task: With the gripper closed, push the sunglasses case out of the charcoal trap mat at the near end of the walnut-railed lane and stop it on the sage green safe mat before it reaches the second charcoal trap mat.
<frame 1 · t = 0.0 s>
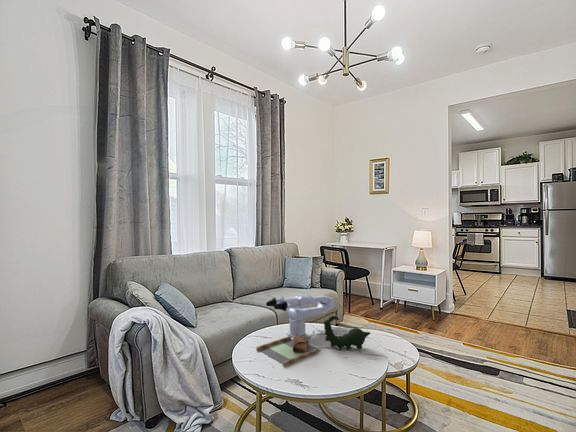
hand: (270, 305, 186), 22 cm above the table, tool horizontal, fingers open, 7 cm apart
lane rails: (290, 350, 176), on the table
zone mats: (290, 350, 176), on the table
sunglasses case: (301, 346, 181), resting on zone mats
toy figurine: (347, 348, 179), on the table
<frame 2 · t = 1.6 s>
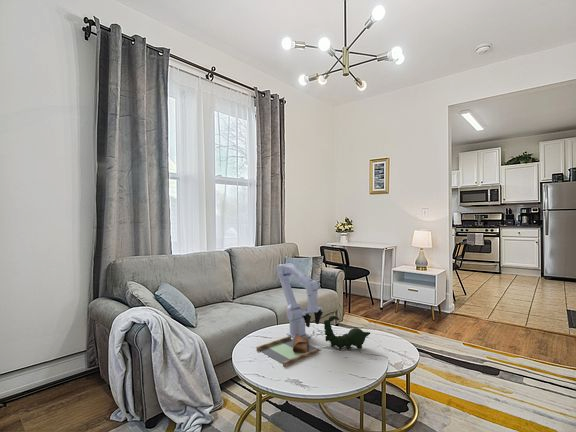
hand: (312, 325, 187), 10 cm above the table, tool pointing down, fingers open, 7 cm apart
nothing on the table moved.
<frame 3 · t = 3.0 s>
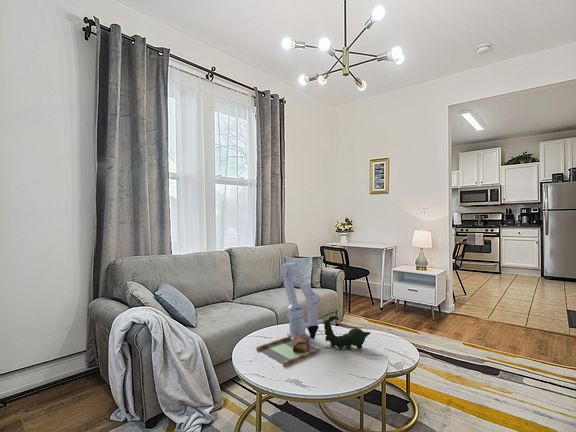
hand: (312, 338, 187), 2 cm above the table, tool pointing down, fingers closed
nothing on the table moved.
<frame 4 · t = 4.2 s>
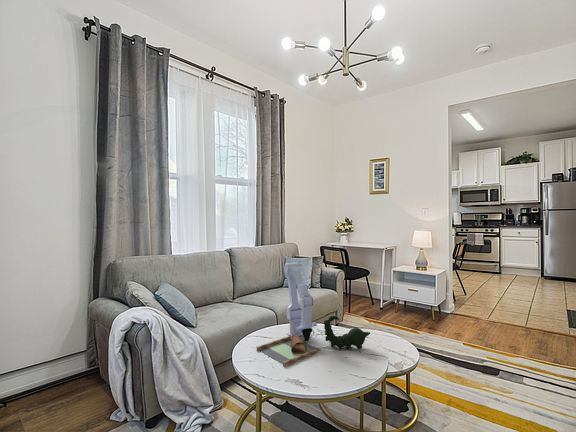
hand: (306, 341, 184), 2 cm above the table, tool pointing down, fingers closed
sunglasses case: (298, 347, 181), resting on zone mats, touching gripper
everything else where it was.
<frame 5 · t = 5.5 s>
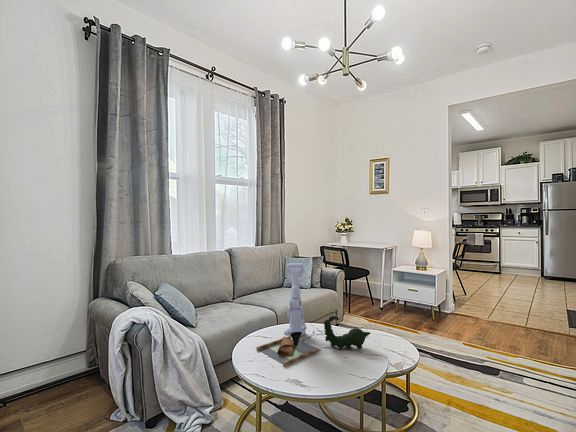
hand: (295, 345, 178), 2 cm above the table, tool pointing down, fingers closed, pressing on sunglasses case
sunglasses case: (287, 349, 178), resting on zone mats, touching gripper, lane rails
everything else where it was.
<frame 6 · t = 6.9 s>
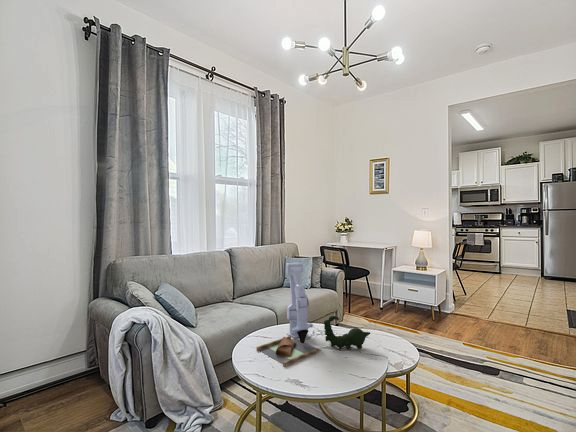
hand: (302, 342, 182), 2 cm above the table, tool pointing down, fingers closed
sunglasses case: (286, 349, 177), resting on zone mats
everything else where it was.
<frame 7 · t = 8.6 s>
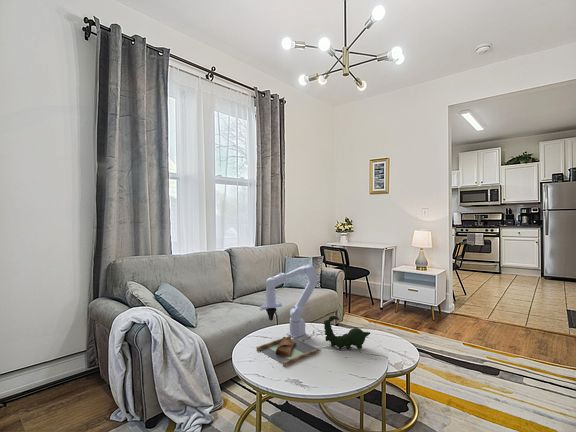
hand: (271, 319, 197), 9 cm above the table, tool pointing down, fingers closed
nothing on the table moved.
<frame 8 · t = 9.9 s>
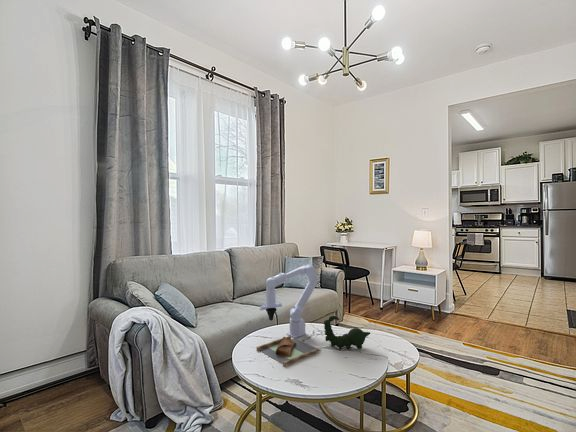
hand: (271, 319, 197), 9 cm above the table, tool pointing down, fingers closed
nothing on the table moved.
at the end: sunglasses case inside the target area (2.7 cm from its centre), resting on zone mats; sunglasses case tilted 0°; sunglasses case moved 9.1 cm from its start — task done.
